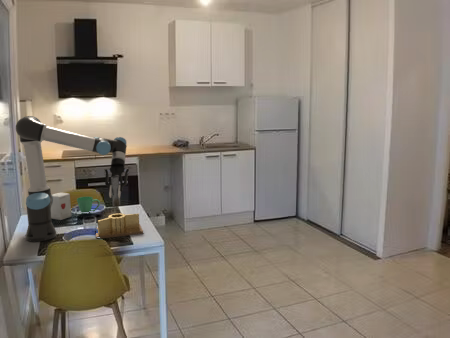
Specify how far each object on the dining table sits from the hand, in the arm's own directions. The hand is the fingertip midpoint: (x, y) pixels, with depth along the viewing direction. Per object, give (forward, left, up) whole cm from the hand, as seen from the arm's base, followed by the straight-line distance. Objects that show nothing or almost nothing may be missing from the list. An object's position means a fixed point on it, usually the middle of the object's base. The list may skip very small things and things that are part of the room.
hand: (114, 196), depth 228 cm
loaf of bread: (+1, +4, -22) cm, 22 cm away
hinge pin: (+1, +4, -6) cm, 7 cm away
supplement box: (-30, +45, -22) cm, 58 cm away
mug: (-13, +48, -22) cm, 54 cm away
